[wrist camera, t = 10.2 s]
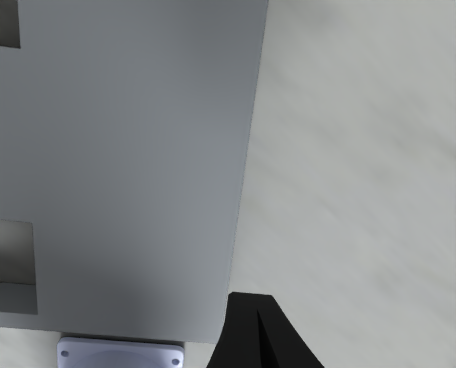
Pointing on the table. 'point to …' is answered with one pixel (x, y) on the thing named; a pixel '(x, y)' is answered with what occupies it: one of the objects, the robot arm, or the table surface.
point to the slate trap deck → (127, 161)
